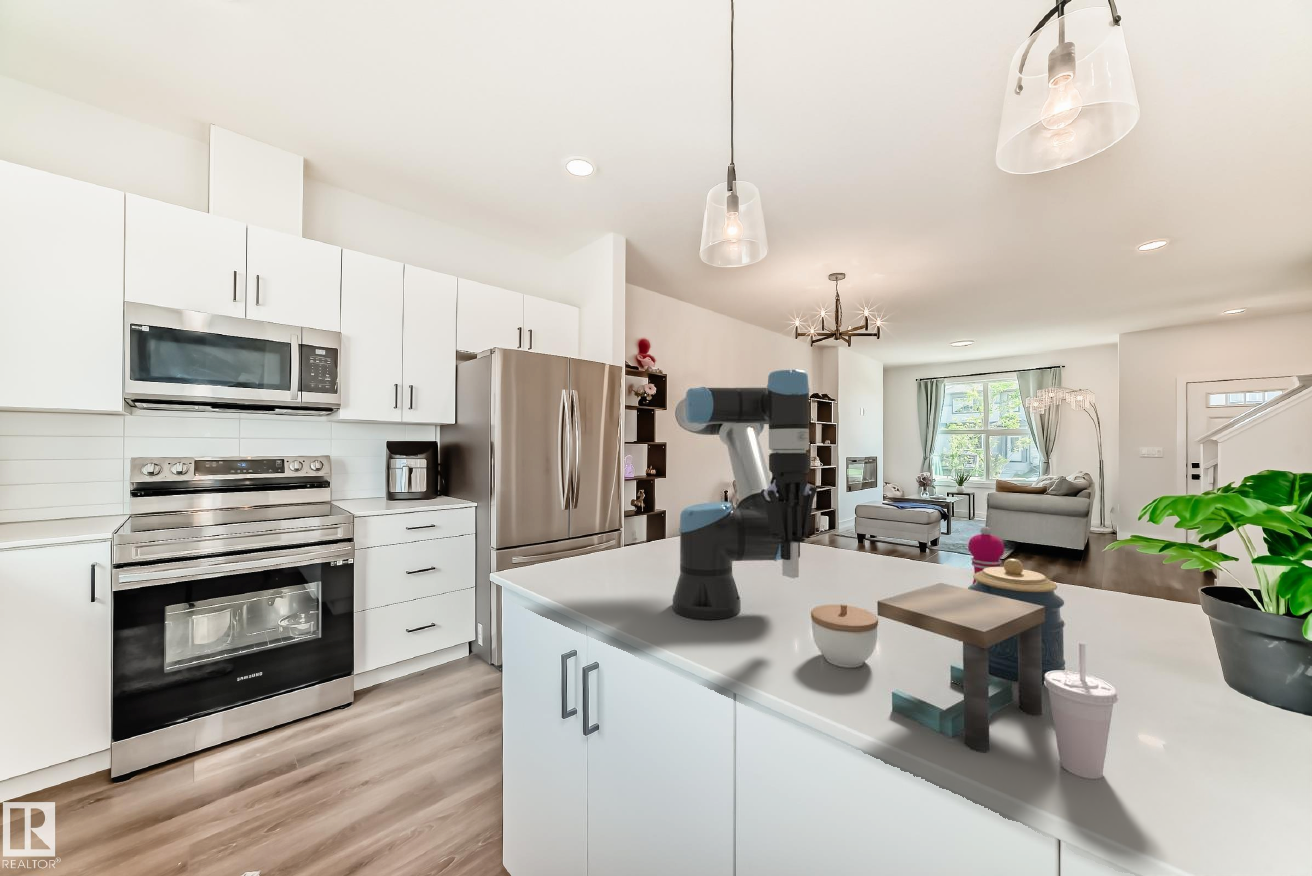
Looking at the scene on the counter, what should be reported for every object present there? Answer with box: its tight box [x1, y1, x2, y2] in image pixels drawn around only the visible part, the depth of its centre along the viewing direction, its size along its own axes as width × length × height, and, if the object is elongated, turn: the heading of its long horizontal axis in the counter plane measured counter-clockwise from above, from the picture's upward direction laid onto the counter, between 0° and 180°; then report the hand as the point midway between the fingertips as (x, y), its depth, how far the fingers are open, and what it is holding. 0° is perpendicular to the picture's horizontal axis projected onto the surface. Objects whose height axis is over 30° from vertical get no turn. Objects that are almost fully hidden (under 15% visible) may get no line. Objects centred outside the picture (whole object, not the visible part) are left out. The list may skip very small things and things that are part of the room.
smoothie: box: [1043, 641, 1119, 780], centre depth 57 cm, size 6×6×14 cm
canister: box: [967, 558, 1066, 684], centre depth 83 cm, size 13×13×18 cm
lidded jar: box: [810, 603, 879, 669], centre depth 86 cm, size 11×11×9 cm
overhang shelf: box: [876, 582, 1045, 753], centre depth 70 cm, size 14×17×14 cm
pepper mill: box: [967, 526, 1005, 585], centre depth 101 cm, size 7×7×20 cm
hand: (790, 576), depth 96 cm, fingers closed
